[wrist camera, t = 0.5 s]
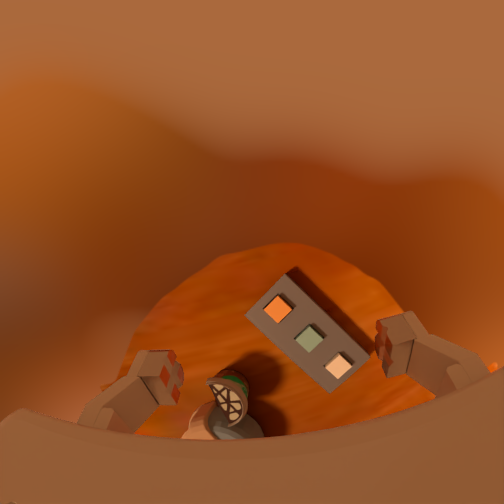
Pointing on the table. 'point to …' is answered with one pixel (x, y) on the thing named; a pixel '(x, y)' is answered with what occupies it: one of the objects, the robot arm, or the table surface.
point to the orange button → (278, 309)
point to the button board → (296, 322)
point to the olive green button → (309, 338)
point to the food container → (230, 394)
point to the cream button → (338, 365)
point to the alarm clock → (220, 425)
